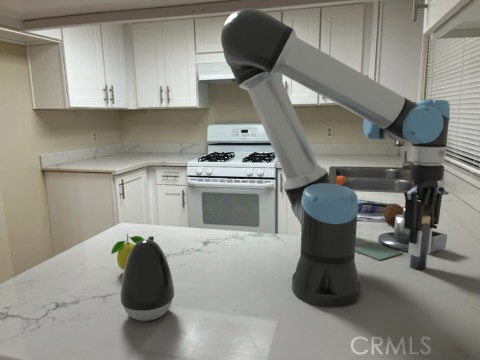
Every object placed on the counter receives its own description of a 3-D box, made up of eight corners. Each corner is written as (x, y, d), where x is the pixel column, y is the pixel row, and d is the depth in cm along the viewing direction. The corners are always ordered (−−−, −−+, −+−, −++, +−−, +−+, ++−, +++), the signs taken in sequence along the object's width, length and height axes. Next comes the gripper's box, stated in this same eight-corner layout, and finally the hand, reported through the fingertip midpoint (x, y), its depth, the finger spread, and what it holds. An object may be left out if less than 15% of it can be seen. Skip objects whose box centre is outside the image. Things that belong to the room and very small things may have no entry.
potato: (391, 221, 137) (393, 200, 135) (412, 228, 128) (414, 206, 126) (376, 223, 134) (378, 202, 132) (397, 230, 125) (399, 208, 123)
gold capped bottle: (420, 271, 91) (425, 218, 89) (406, 266, 94) (411, 214, 92) (429, 268, 93) (434, 216, 91) (415, 263, 96) (419, 212, 94)
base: (413, 256, 101) (414, 253, 101) (367, 240, 114) (367, 237, 114) (445, 246, 109) (446, 243, 109) (398, 232, 123) (399, 229, 122)
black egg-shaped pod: (178, 300, 76) (176, 231, 74) (170, 328, 66) (168, 249, 63) (129, 300, 76) (126, 231, 73) (114, 329, 66) (109, 250, 63)
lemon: (147, 268, 92) (146, 231, 91) (135, 278, 87) (133, 238, 85) (125, 265, 94) (123, 228, 93) (111, 274, 89) (109, 235, 87)
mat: (379, 260, 98) (379, 259, 98) (350, 249, 106) (350, 248, 106) (402, 253, 103) (402, 252, 103) (373, 243, 111) (373, 242, 111)
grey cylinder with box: (432, 252, 101) (435, 214, 99) (389, 238, 113) (391, 203, 111) (446, 247, 104) (449, 210, 103) (402, 234, 116) (405, 201, 114)
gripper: (421, 167, 82) (412, 264, 85) (461, 163, 90) (451, 251, 94) (392, 164, 88) (385, 254, 92) (432, 160, 96) (424, 243, 100)
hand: (419, 253), depth 93 cm, fingers closed on gold capped bottle, 4 cm apart
